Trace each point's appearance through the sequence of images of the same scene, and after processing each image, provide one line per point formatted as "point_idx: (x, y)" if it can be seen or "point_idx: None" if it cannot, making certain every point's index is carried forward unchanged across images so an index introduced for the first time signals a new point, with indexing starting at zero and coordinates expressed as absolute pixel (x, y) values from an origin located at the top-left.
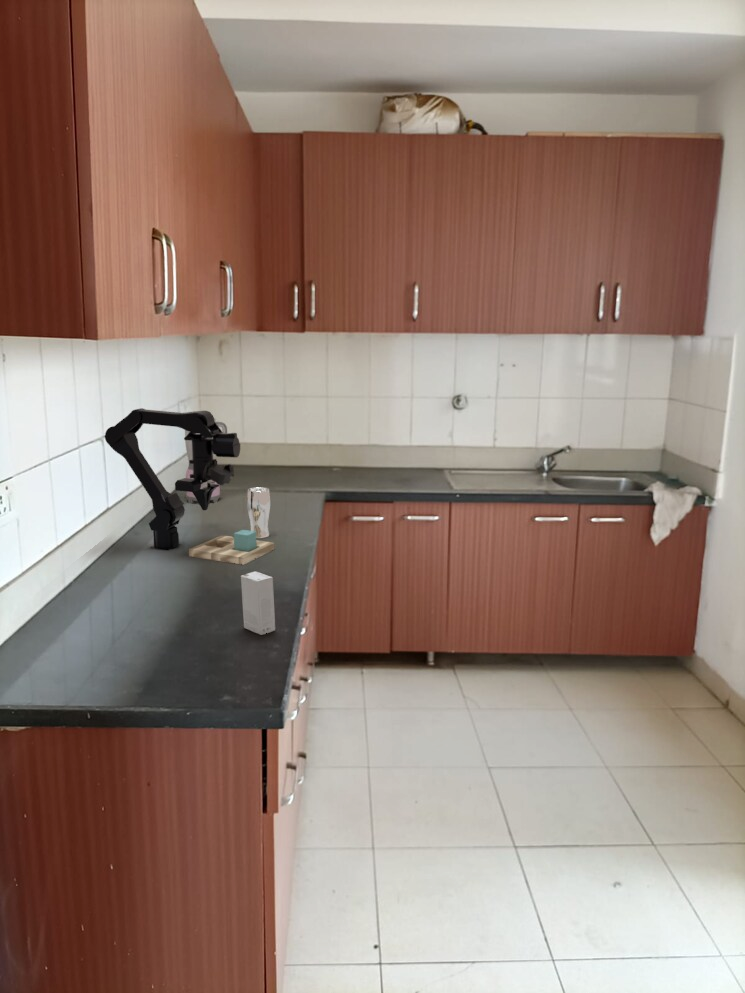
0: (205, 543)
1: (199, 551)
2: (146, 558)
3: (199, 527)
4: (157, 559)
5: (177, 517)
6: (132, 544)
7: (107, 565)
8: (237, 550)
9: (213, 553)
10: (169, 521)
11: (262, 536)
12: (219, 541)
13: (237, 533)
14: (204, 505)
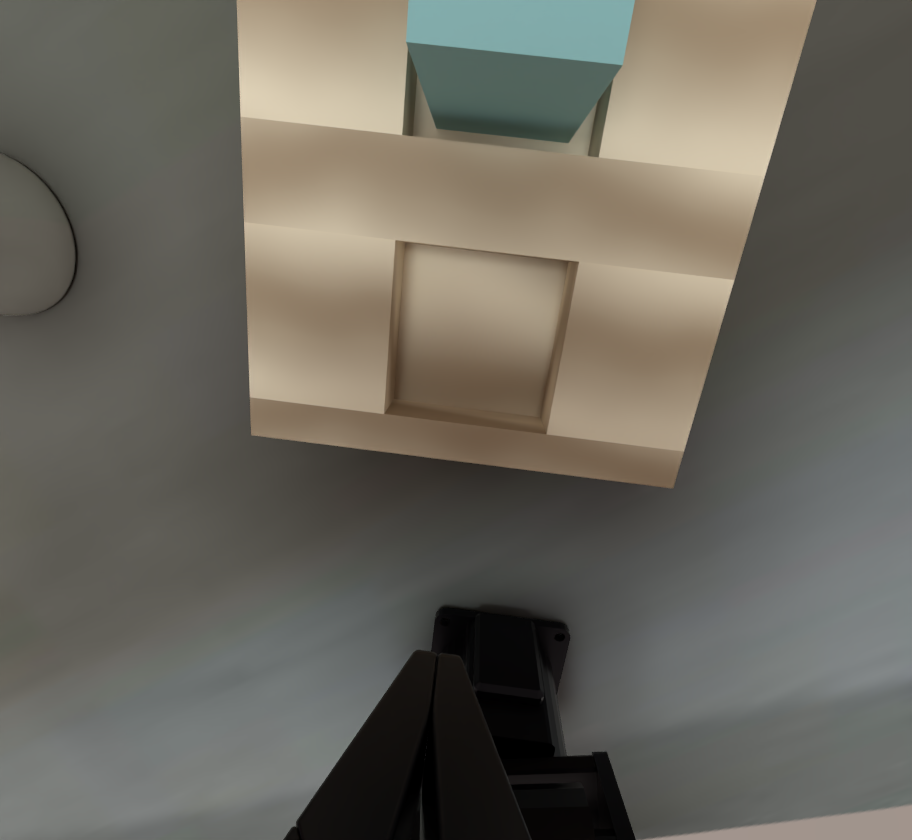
0: (498, 446)
1: (696, 393)
2: (712, 663)
3: (71, 680)
4: (720, 607)
5: (541, 816)
6: None
7: (865, 763)
8: None
9: (740, 252)
10: (624, 820)
11: (15, 173)
12: (388, 384)
13: (609, 8)
14: (484, 736)
